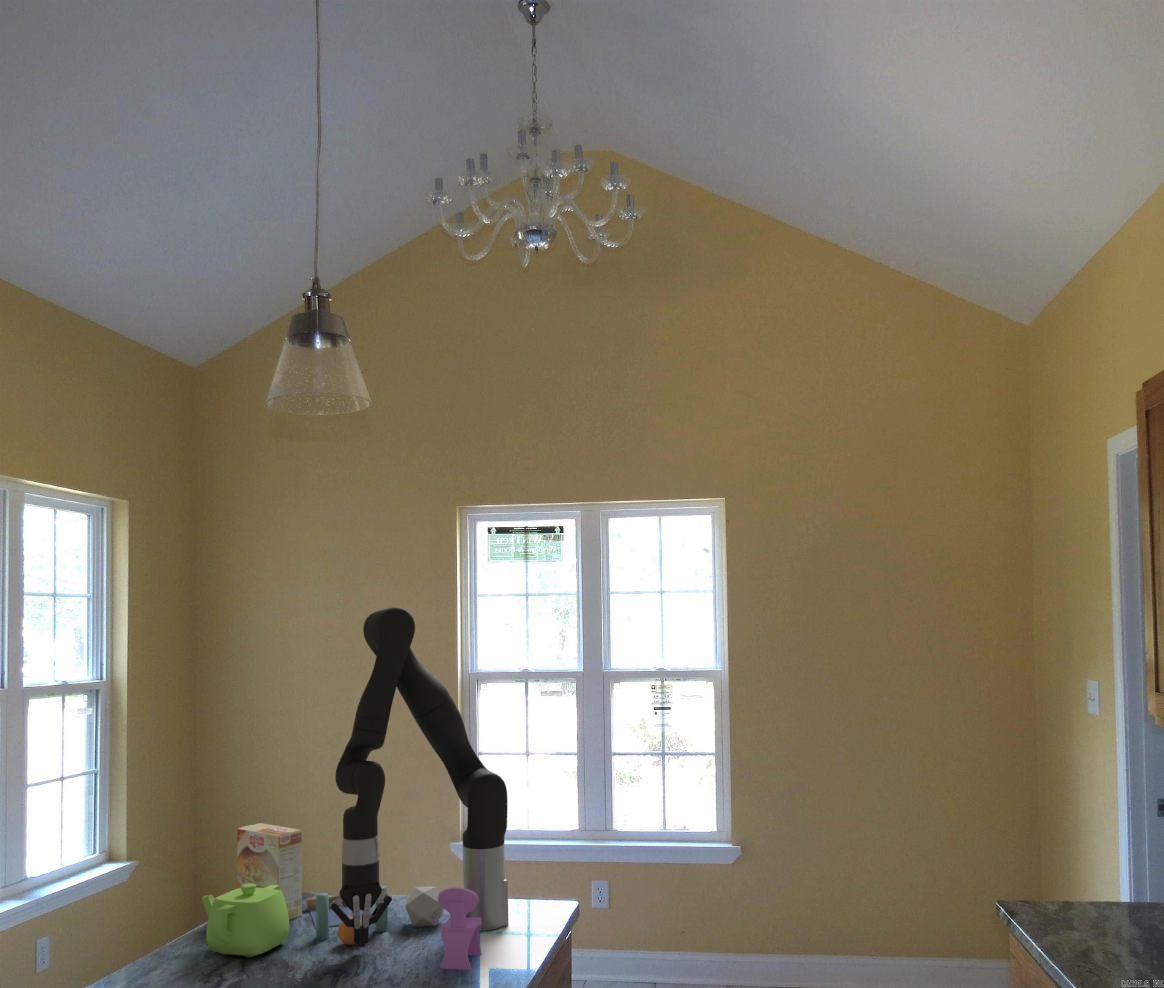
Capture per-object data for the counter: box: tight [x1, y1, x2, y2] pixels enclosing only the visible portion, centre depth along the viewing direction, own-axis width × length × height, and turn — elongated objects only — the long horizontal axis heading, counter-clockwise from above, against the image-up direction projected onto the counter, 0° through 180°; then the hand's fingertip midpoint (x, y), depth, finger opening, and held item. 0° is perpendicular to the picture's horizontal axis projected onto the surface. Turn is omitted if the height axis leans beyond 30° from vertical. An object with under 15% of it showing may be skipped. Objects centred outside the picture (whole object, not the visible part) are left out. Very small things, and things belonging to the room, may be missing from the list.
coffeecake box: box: [236, 822, 303, 921], centre depth 239 cm, size 15×7×20 cm, turn 55°
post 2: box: [374, 885, 388, 933], centre depth 226 cm, size 3×3×9 cm
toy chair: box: [438, 886, 483, 971], centre depth 206 cm, size 8×9×15 cm
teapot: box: [201, 883, 290, 958], centre depth 217 cm, size 18×20×13 cm
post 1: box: [315, 892, 330, 941], centre depth 221 cm, size 3×3×9 cm
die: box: [404, 886, 445, 928], centre depth 229 cm, size 8×9×10 cm
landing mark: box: [309, 905, 375, 929], centre depth 236 cm, size 14×14×1 cm
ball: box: [337, 917, 362, 946], centre depth 217 cm, size 6×6×6 cm
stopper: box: [306, 893, 346, 912], centre depth 244 cm, size 15×2×2 cm, turn 110°
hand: (361, 945), depth 211 cm, fingers closed
